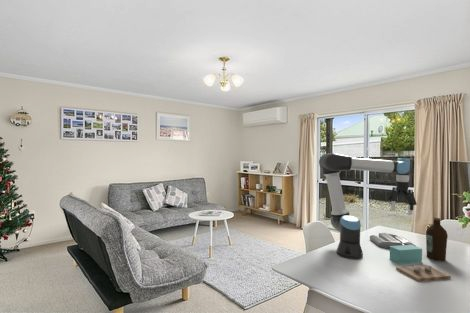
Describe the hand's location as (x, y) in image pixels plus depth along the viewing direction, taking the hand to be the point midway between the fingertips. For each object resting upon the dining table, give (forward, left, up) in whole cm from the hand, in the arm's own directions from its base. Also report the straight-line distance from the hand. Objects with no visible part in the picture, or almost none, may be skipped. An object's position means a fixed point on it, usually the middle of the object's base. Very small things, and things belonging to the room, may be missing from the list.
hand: (401, 212), depth 181 cm
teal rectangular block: (-13, -18, -25) cm, 33 cm away
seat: (-19, -35, -25) cm, 47 cm away
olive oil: (+9, -18, -25) cm, 32 cm away
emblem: (+2, +9, -25) cm, 27 cm away
